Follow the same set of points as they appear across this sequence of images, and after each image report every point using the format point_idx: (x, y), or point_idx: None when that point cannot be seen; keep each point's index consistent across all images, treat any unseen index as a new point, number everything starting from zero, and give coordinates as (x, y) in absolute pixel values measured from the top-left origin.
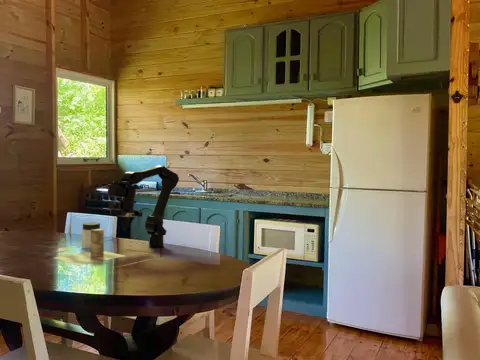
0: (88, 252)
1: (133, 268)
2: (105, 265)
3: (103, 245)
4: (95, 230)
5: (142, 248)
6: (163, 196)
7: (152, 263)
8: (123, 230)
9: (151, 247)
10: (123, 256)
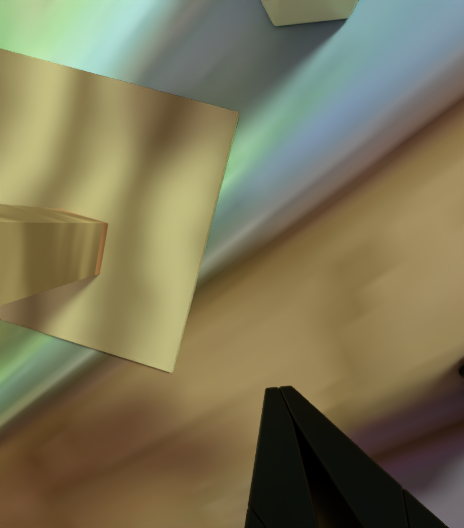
0: (129, 108)
1: (37, 491)
2: (5, 373)
3: (39, 291)
4: None
5: (431, 321)
6: None
7: (139, 518)
8: (265, 399)
9: (461, 372)
10: (155, 366)
